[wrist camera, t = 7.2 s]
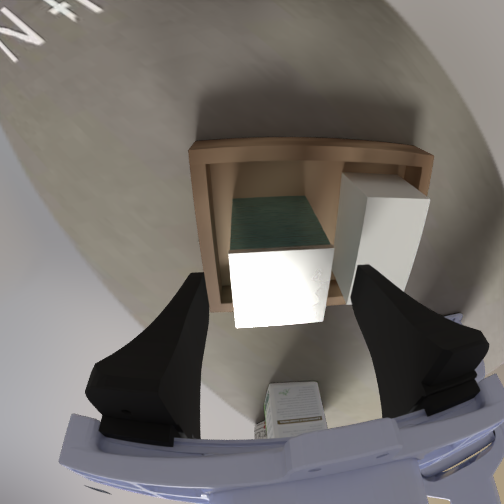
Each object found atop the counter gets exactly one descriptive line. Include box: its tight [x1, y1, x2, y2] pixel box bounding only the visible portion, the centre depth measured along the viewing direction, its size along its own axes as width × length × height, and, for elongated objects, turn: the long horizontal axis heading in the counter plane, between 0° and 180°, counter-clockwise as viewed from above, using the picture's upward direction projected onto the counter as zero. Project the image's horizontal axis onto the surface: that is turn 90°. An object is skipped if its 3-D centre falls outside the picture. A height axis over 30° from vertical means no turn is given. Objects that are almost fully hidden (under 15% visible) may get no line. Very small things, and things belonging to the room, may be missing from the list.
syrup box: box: [264, 381, 328, 439], centre depth 25 cm, size 6×6×14 cm
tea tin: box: [228, 196, 335, 328], centre depth 16 cm, size 4×4×6 cm
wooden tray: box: [188, 137, 434, 312], centre depth 18 cm, size 14×11×2 cm
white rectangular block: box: [332, 172, 430, 305], centre depth 17 cm, size 4×7×4 cm, turn 2°
